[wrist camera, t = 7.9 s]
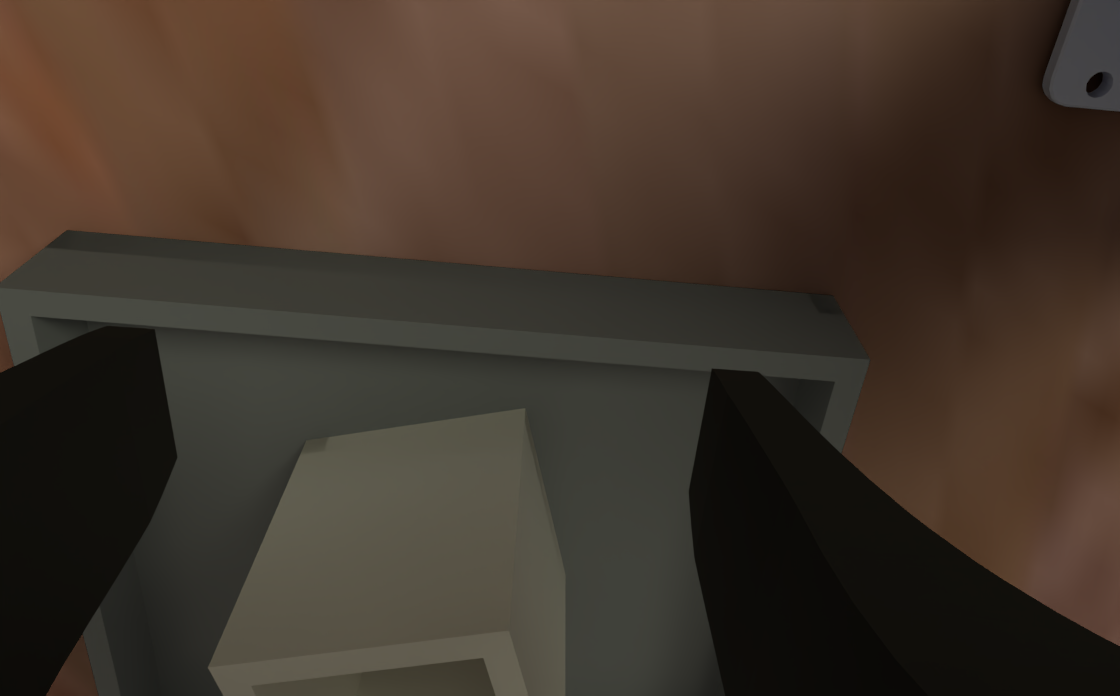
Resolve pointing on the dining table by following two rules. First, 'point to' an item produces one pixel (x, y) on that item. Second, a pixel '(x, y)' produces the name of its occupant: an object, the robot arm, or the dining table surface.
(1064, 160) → the dining table surface
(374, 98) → the dining table surface
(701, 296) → the tray
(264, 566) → the open box
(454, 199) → the dining table surface
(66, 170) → the dining table surface
